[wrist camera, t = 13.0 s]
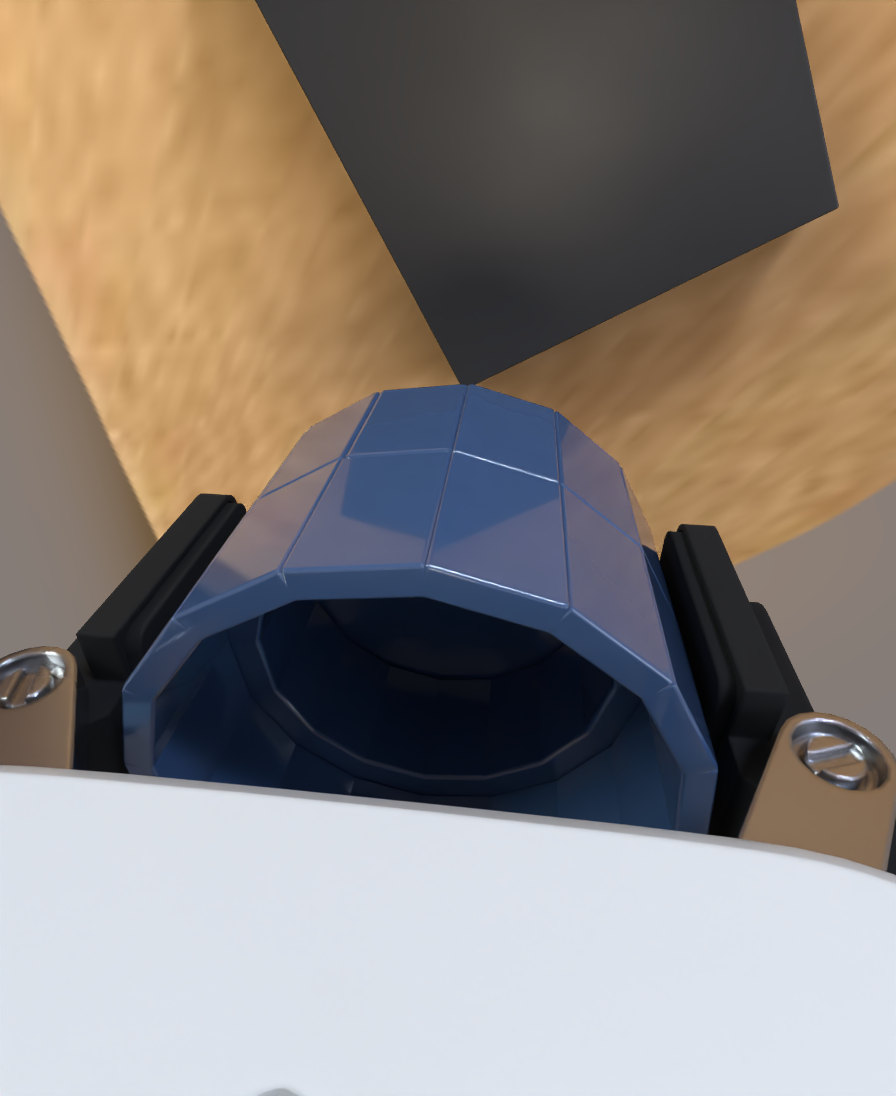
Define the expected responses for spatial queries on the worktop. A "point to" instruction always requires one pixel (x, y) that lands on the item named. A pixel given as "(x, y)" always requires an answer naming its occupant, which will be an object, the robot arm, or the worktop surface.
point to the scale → (561, 149)
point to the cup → (435, 627)
